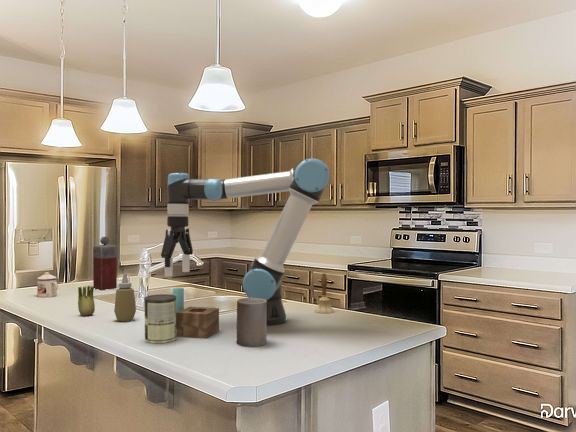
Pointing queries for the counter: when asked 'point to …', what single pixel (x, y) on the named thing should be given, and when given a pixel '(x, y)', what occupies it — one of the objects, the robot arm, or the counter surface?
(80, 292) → the fennel bulb
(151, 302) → the coffee can
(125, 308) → the squeeze bottle
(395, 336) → the counter surface
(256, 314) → the pillar candle
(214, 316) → the socket block
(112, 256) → the glass decanter
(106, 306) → the counter surface
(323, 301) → the hand bell
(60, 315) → the counter surface
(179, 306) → the dowel
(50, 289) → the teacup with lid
